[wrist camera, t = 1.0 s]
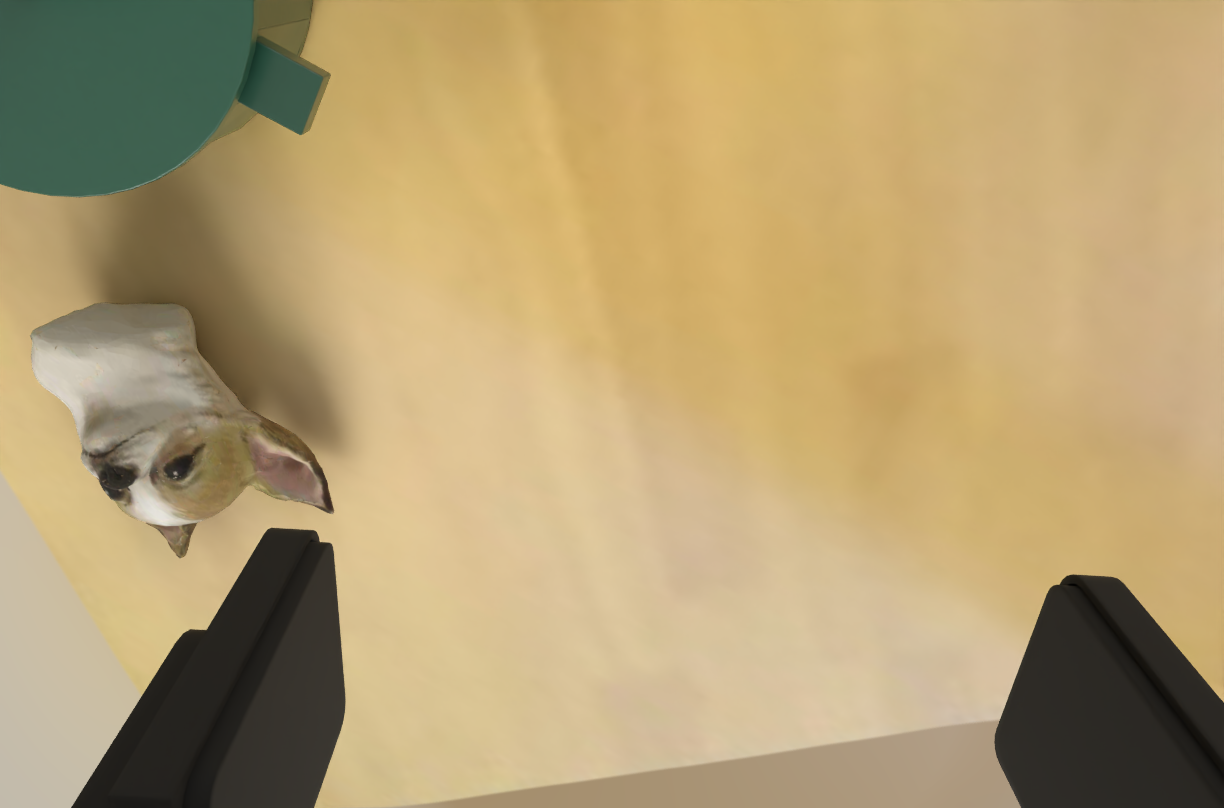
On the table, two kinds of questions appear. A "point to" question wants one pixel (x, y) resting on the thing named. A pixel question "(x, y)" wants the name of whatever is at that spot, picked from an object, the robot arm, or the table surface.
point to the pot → (280, 71)
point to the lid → (116, 88)
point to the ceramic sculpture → (165, 419)
